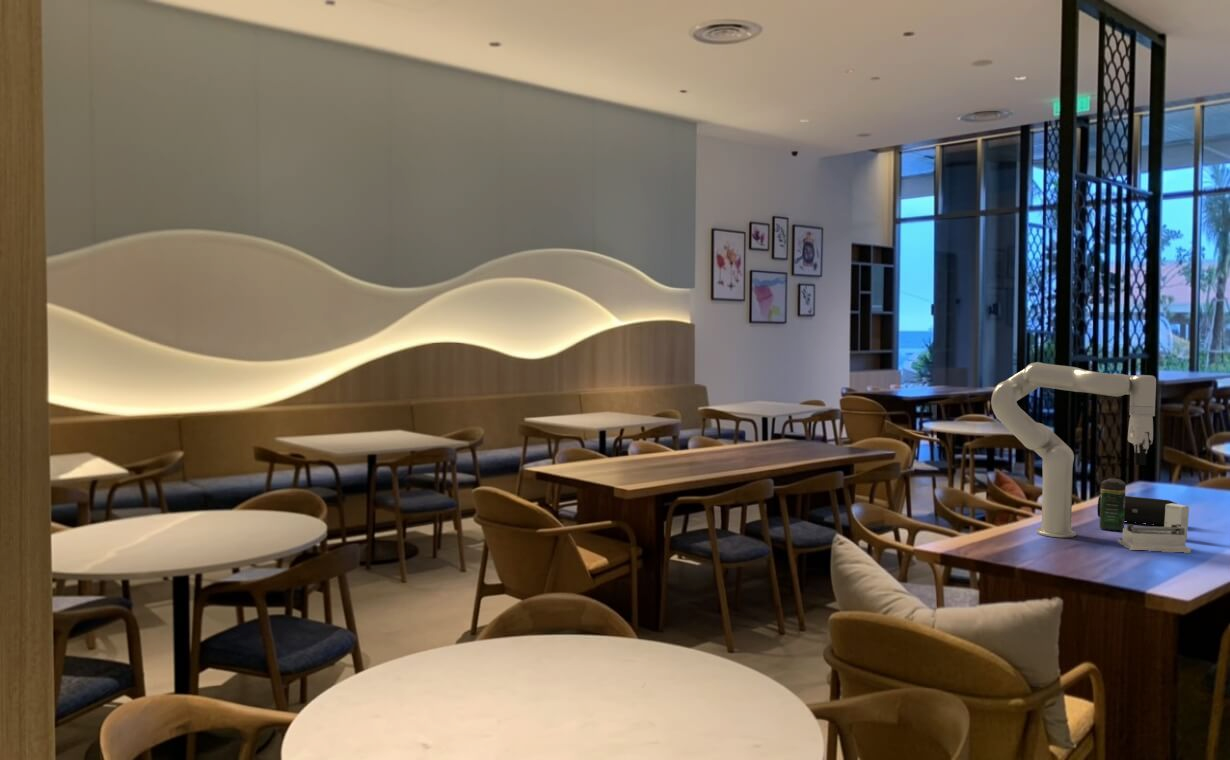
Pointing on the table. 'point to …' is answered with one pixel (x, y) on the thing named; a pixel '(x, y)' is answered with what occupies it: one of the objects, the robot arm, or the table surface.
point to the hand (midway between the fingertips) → (1140, 464)
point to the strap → (1155, 528)
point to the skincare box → (1177, 516)
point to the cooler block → (1155, 540)
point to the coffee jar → (1112, 504)
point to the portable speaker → (1143, 510)
